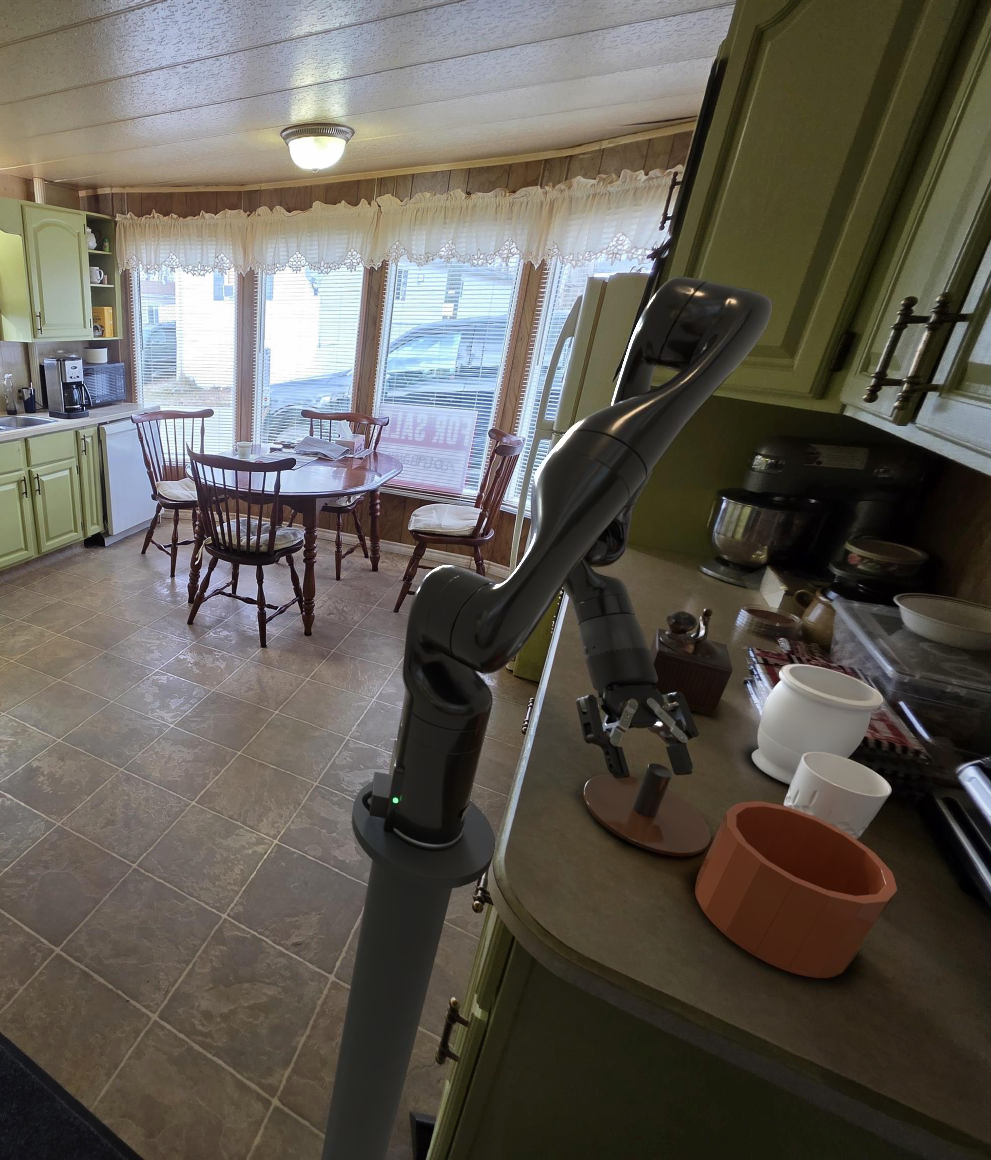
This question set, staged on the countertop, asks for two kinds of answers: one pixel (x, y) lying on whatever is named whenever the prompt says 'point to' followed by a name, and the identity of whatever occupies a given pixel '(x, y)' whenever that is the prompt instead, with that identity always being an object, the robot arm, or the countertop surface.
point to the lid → (647, 812)
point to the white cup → (837, 791)
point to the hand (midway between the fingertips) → (653, 776)
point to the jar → (812, 718)
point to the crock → (792, 888)
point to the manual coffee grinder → (691, 662)
